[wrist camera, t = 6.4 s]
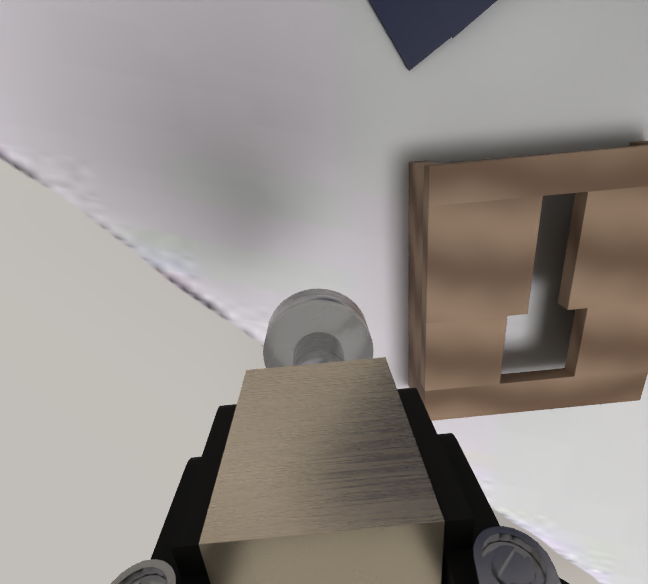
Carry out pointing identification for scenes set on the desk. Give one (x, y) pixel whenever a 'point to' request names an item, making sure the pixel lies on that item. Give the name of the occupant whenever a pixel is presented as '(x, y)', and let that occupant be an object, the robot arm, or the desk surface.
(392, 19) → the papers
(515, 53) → the desk surface
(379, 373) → the peg
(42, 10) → the desk surface
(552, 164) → the keyhole board
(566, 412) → the desk surface
